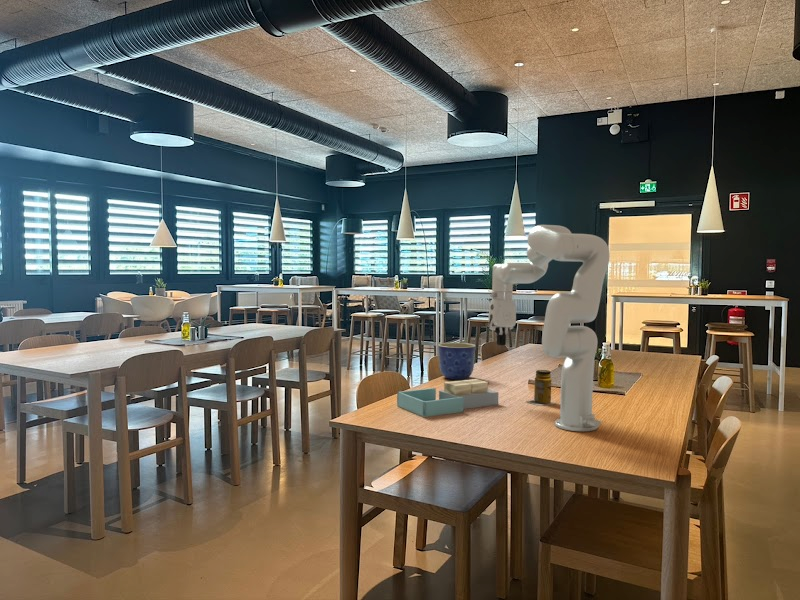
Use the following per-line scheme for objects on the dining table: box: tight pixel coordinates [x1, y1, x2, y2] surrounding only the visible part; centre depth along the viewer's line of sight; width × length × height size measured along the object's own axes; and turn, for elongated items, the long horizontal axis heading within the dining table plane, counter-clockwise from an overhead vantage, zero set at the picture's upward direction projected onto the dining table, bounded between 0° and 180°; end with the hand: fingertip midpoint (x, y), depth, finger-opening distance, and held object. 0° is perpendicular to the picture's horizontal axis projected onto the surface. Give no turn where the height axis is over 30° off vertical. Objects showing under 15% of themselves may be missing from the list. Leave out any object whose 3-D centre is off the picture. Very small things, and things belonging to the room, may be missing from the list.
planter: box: [437, 342, 476, 381], centre depth 258 cm, size 17×17×15 cm
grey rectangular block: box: [438, 388, 499, 410], centre depth 207 cm, size 12×18×4 cm, turn 120°
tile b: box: [443, 380, 471, 396], centre depth 204 cm, size 7×7×4 cm
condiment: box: [525, 369, 555, 406], centre depth 210 cm, size 7×8×12 cm
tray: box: [396, 387, 464, 418], centre depth 198 cm, size 18×16×5 cm
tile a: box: [461, 378, 489, 394], centre depth 208 cm, size 7×7×4 cm
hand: (501, 344), depth 214 cm, fingers closed
